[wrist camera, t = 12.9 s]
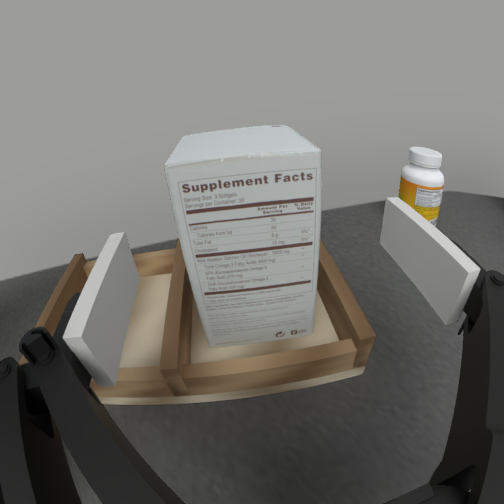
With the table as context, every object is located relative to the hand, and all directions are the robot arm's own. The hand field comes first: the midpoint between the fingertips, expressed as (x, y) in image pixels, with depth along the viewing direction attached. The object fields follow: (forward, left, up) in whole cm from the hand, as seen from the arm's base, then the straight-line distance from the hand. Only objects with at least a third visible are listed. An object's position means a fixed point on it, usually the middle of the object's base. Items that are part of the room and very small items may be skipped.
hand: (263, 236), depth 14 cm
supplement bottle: (+21, +14, -10) cm, 27 cm away
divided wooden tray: (-6, +4, -10) cm, 12 cm away
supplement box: (0, +4, -9) cm, 10 cm away
